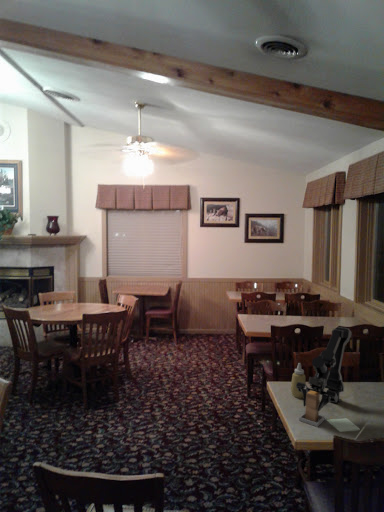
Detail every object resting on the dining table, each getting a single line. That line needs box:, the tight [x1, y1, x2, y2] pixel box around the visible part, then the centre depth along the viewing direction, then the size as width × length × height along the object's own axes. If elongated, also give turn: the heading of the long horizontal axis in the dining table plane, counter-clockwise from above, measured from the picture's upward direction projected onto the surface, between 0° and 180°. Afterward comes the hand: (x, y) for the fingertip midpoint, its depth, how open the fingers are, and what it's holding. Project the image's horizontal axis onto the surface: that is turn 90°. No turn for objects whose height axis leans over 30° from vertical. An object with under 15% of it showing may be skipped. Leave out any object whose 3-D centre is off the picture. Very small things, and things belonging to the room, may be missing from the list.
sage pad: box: [326, 417, 361, 433], centre depth 175 cm, size 10×10×1 cm
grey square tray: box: [298, 412, 325, 428], centre depth 179 cm, size 9×9×2 cm
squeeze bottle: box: [290, 362, 307, 399], centre depth 206 cm, size 8×8×18 cm
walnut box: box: [304, 390, 320, 422], centre depth 178 cm, size 4×4×13 cm
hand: (311, 408), depth 177 cm, fingers open, 6 cm apart
